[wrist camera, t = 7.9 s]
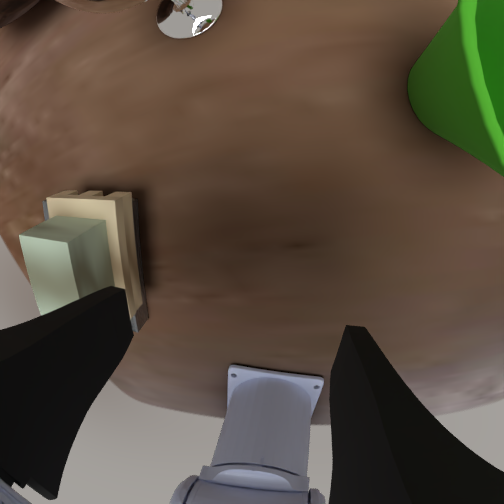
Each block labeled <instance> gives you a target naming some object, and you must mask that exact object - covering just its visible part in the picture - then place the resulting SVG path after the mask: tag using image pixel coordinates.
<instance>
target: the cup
mask: <svg viewBox="0 0 504 504" xmlns="http://www.w3.org/2000/svg"><path fill="white" fill-rule="evenodd" d="M407 90H408V96H409V100H410V103H411V106H412V108H413V111H414V112H415V114H416V115H417V117H418V119H419V120H420V121H421V122H422V123H423V124H424V125H425V126H426V127H427V128H428V129H429V130H431V131H432V132H433V133H435V134H437V135H439V136H440V137H442V138H444V139H446V140H448V141H449V142H451V143H453V144H454V145H456V146H458V147H459V148H461V149H463V150H464V151H466V152H468V153H469V154H471V155H472V156H474V157H475V158H477V159H479V160H480V161H482V162H483V163H485V164H486V165H488V166H489V167H491V168H492V169H493V170H495V171H496V172H498V173H499V174H500V175H502V176H503V177H504V0H458V5H457V7H456V8H455V9H454V11H453V12H452V14H451V15H450V16H449V18H448V19H447V20H446V22H445V23H444V25H443V26H442V27H441V29H440V30H439V31H438V33H437V34H436V36H435V37H434V38H433V40H432V41H431V42H430V44H429V45H428V46H427V48H426V49H425V50H424V52H423V53H422V55H421V56H420V57H419V59H418V60H417V61H416V63H415V64H414V66H413V67H412V69H411V70H410V74H409V77H408V87H407Z"/></svg>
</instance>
